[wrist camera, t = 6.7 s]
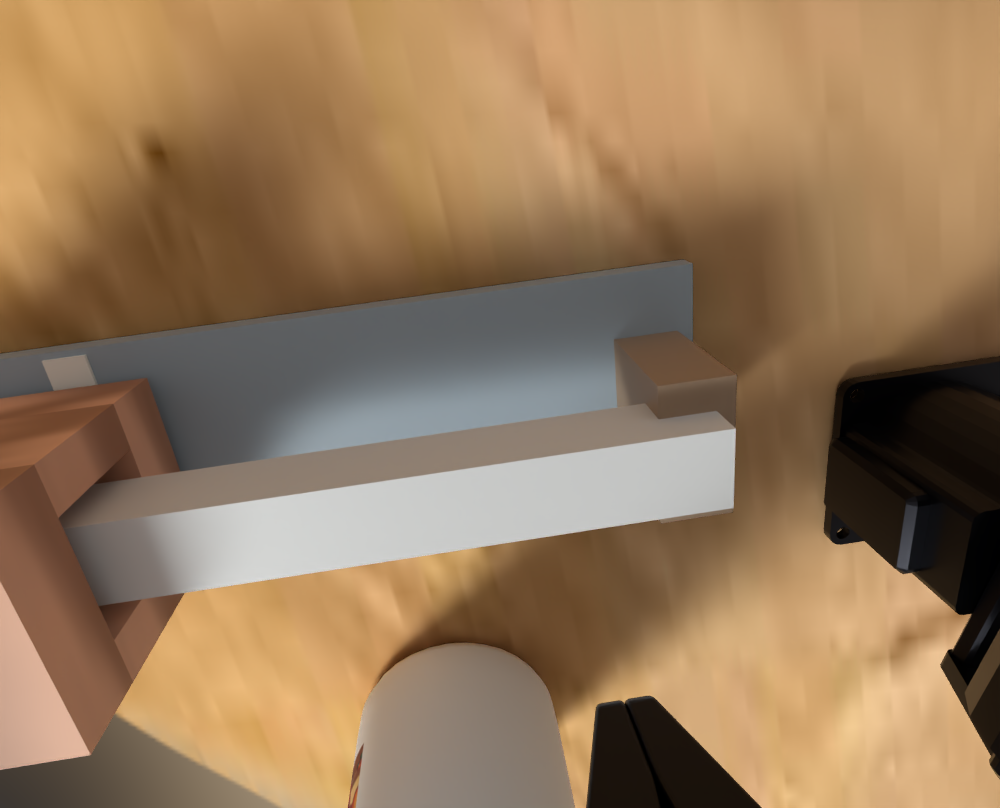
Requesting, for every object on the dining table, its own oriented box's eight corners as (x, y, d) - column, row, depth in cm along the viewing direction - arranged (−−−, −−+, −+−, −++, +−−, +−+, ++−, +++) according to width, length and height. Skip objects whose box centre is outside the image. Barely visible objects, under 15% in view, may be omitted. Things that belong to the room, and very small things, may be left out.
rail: (682, 259, 19) (785, 303, 14) (684, 483, 22) (768, 596, 17) (-147, 373, 18) (-412, 473, 13) (-28, 592, 21) (-198, 751, 16)
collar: (147, 377, 18) (-34, 516, 11) (208, 551, 20) (91, 754, 13) (-32, 402, 18) (-328, 559, 11) (51, 574, 20) (-151, 794, 13)
